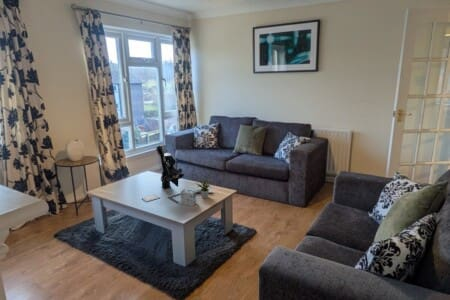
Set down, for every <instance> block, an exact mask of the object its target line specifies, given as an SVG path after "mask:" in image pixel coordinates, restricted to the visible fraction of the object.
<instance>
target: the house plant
mask: <svg viewBox="0 0 450 300" xmlns="http://www.w3.org/2000/svg"><path fill="white" fill-rule="evenodd" d="M212 179H213V178H212V177H211V178H210V179H207V180H206V179H205V177H203V180H201V179H198V182H199V183H198V182H197V183H196V182H195V184H196V185H197V186H196V187H197V188H198V187H200V188H201V189H200V196H201V198H202V199H207V198H208V197H209V192H210V189H209V188H211V184H210V182H211V180H212Z"/></svg>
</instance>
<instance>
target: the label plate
mask: <svg viewBox="0 0 450 300" xmlns="http://www.w3.org/2000/svg"><path fill="white" fill-rule="evenodd" d="M158 199H161V197H160V196H158V195H157V194H155V193H154V194H151V195H147V196H144V197H141V200H143V201H145V202H147V203H148V202H151V201H155V200H158Z"/></svg>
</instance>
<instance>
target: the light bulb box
mask: <svg viewBox="0 0 450 300" xmlns="http://www.w3.org/2000/svg"><path fill="white" fill-rule="evenodd" d="M180 193H181V195H180V205H183V206H194V205H196V204H197V190H196V189H185V188H184V189H181V191H180ZM180 193H179V194H180Z"/></svg>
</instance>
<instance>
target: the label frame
mask: <svg viewBox="0 0 450 300" xmlns="http://www.w3.org/2000/svg"><path fill="white" fill-rule="evenodd" d="M178 196H181V193H177V194H174V195H171V196H170V195H169V196H168V197H167V198H168V199H169V200H171V201H173V202H174V203H176V204H179V203H180V202H179V201H178V200H176V199H174V198H173V197H178Z"/></svg>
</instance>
